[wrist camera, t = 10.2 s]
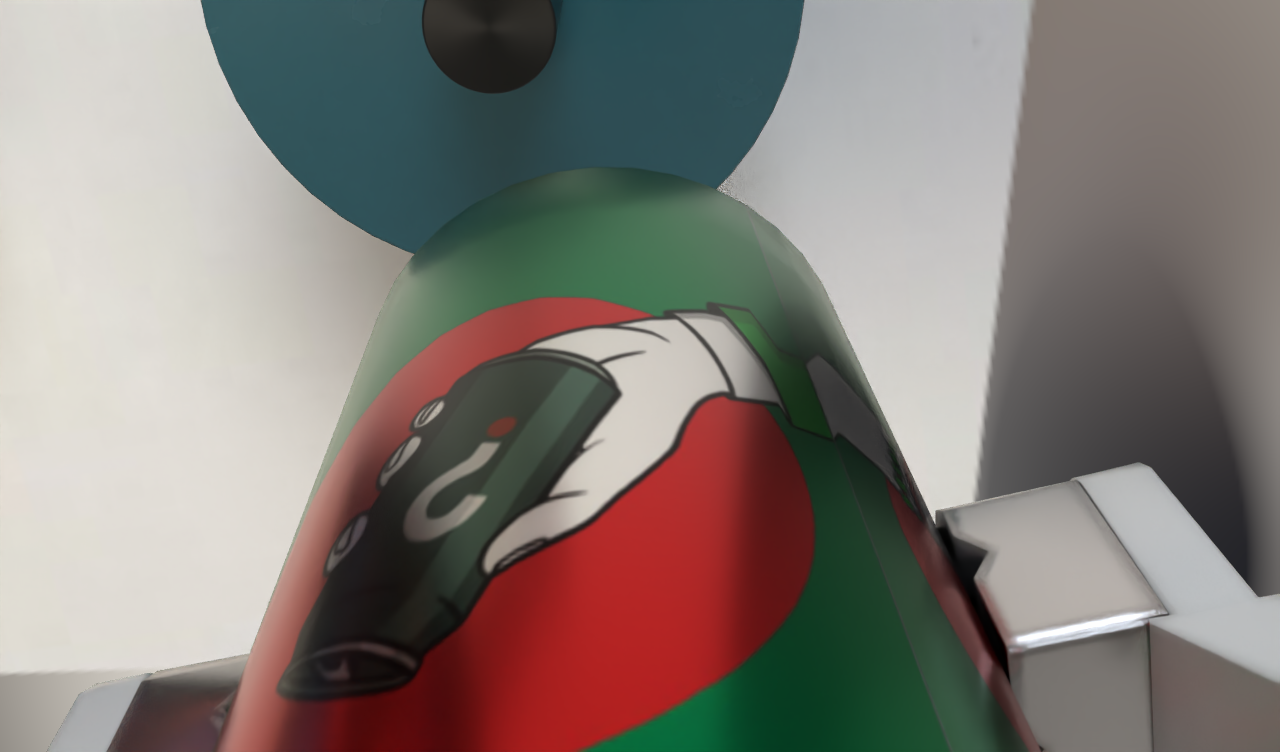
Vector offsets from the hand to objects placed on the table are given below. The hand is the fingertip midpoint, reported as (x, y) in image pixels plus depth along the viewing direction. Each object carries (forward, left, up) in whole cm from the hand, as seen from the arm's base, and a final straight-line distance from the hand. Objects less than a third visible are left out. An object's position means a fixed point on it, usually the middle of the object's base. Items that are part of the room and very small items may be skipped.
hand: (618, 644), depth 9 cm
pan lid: (+2, -2, -18) cm, 19 cm away
